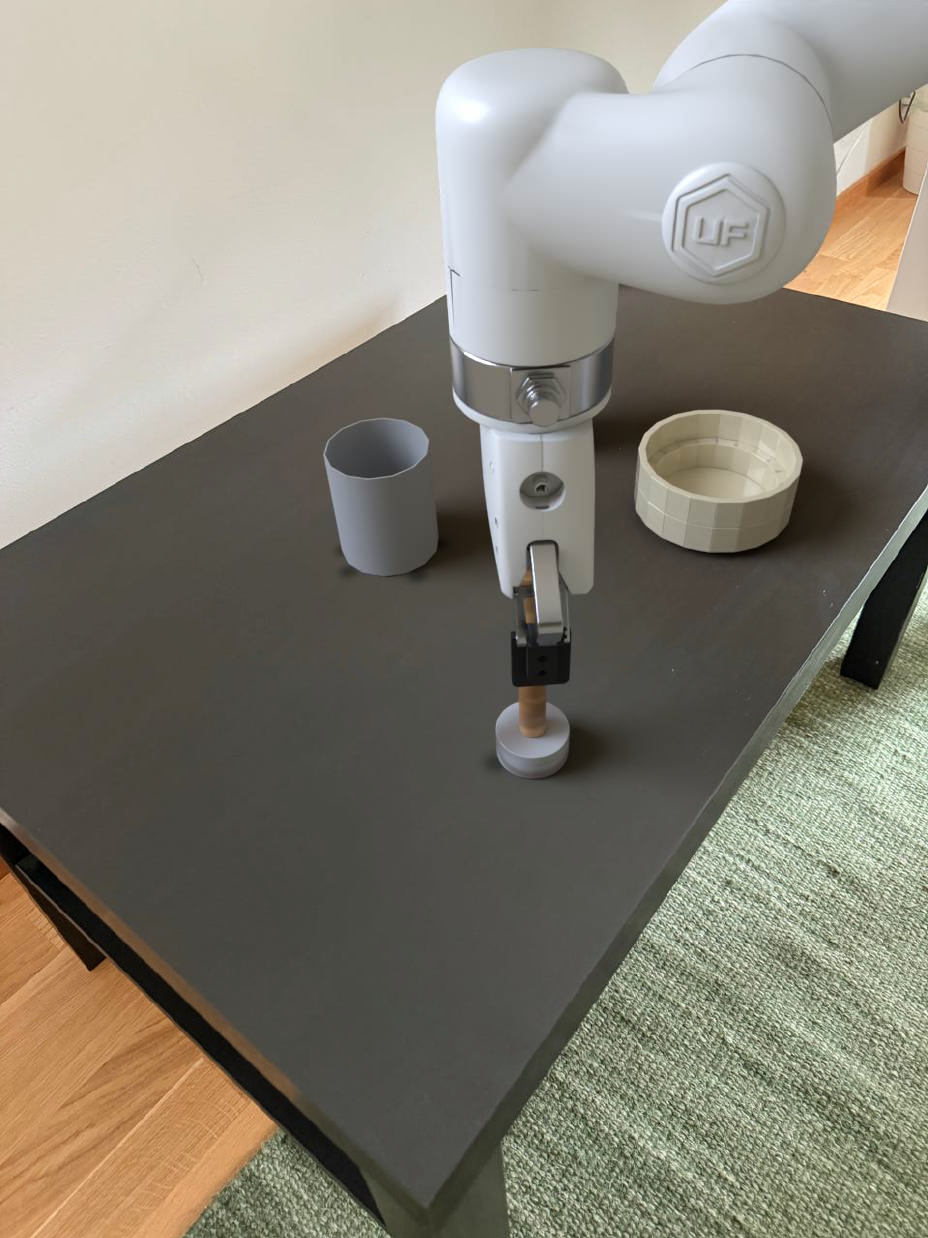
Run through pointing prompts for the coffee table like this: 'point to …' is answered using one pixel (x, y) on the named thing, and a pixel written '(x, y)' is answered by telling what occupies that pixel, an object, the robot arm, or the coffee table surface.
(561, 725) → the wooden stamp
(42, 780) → the coffee table surface
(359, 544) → the cup
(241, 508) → the coffee table surface
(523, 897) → the coffee table surface
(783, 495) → the bowl
